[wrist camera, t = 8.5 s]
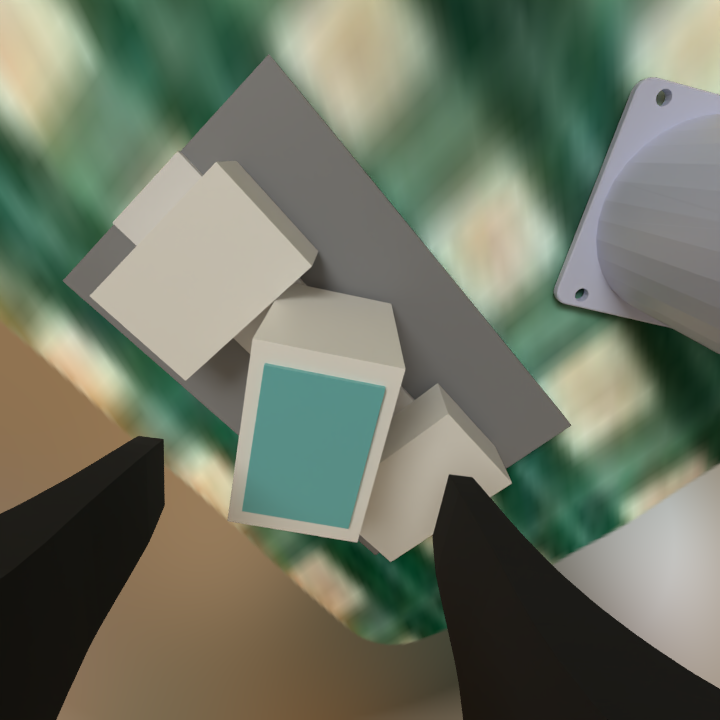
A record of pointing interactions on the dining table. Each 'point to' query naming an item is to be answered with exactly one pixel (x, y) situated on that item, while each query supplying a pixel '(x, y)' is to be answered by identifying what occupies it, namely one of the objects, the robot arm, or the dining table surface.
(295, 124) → the board
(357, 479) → the module
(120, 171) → the dining table surface
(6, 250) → the dining table surface
